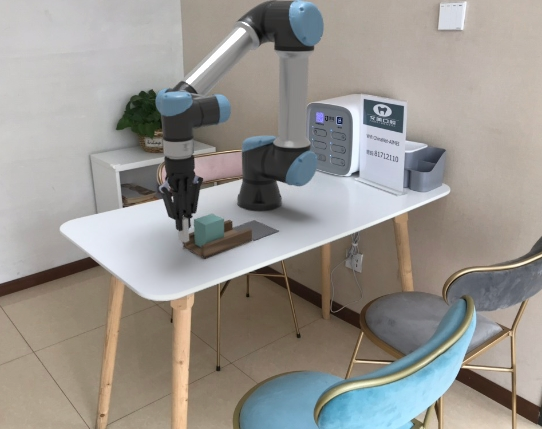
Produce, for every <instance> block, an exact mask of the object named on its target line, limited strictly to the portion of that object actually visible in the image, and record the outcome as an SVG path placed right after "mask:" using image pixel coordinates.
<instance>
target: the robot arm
mask: <svg viewBox="0 0 542 429" xmlns="http://www.w3.org/2000/svg"><path fill="white" fill-rule="evenodd" d="M324 25H325V24H324V17H323V15H322V12H321V10H320V9H319V8H318V6H317V5H316V4H315V3H313V2H312V1H311V2H310V1H306V0H305V1H304V0H267V1H264V2H262V3H259V4H257V5H256V6H254V7H252V8H251V9H249V10H248V11H247V12H245V13H244V14H243V15H242V16H240V18H239V19H238V20H237V21H235V23H234V24H233V25H232V30H231V31H230V32H229V34H227V35H226V36H225V37H224V38H223V39H222V40H221V41H220V42H219V43H218V44H217V45H216V46H215V47H214V48H213V49H212V50H211V51H210V52H209V53H208V54H207V55H206V56H205V57H204V58H203V59H202V60H200V61H199V63H197V65H195V67H193V68H192V70H190V71H189V72H188V73H187V74H186V75H185V76H184V77H183V78H182V79H181V80H180V81H179V82H178V83H177V84H176V85H175V86H174V87H173V88H170V87H169V88H168V87H167V88H164V89H163V88H162V89H161V90H159V91H158V93H157V94H156V97H155V107H156V110H157V111H158V112H159V114H160V117H161V118H160V119H161V130H162V142H163V143H162V146H163V155H164V157H163V160H164V170H165V177H164V182H163V183H162V184H159V185H157V187H156V188H157V190H158V192H160V195H161V197H162V200H163V203H164V207H165V210H166V213H167V216H168V218H169V219H170V218H171V219H172V220H174V221H175V229H176V231H178V232H177V233H178V240H179V241H181V242H182V243H183V242H188V241H189V233H190V231H189V229H190V228H191V226H192V224H191V219H192V218H194V214H196V213H197V209H198V205H199V197H200V192H201V186H202V184H203V182H204V178H203V177H201V176H199V175H196V172H195V169H196V166H195V165H196V161H195V156H194V153H195V147H194V143H195V142H194V129H195V130H196V129H200V128H206V127H211V126H217V125H218V126H219V125H220V124H222V123H226V122H227V121H229V119H230V116H231V114H232V113H231V112H232V110H231V109H232V108H231V102H230V101H229V99H228V98H227V97H226V96H225V95H224V94H210V95H208V94H209V93H210V92H211V91H212V90H213V89H214V88H215V86H216V85H218V83H220V81H222V80H223V79H224V78H225V76H227V75H228V74H229V73H230V71H232V69H234V68H235V66H237V64H238V63H240V61H242V59H243V58H244V57H246V56H247V54H248V53H249V52H250V51H256V50H258V48H259V47H260V46H262V45H264V44H267V43H273V44H274V45H273V46H274V48H273V50H274V52H275V53H276V54H277V56H278V57H279V58H278V59H279V60H278V62H279V64H278V67H279V68H278V70H279V71H278V120H277V121H278V122H277V123H278V125H277V126H278V128H277V130H278V133H277V134H278V136H276V135H258V136H257V135H255V136H250V137H247V138H245V139H244V140H243V141H242V145H241V173H242V174H241V175H242V180H241V181H242V182H241V185H240V188H239V193H238V194H237V199H236V200H237V202H236V203H237V206H238V207H240V208H241V209H243V210H245V211H246V210H248V211H253V212H266V211H273V210H275V209H277V208H280V207H281V205H282V203H283V202H282V201H283V200H282V194H281V192H280V188H279V185H278V184H279V183H278V182H281V183H283V184H287V185H288V186H295V187H303V186H305V185H307V184H308V183H309V182H310V181H311V180H312V179H313V177H314V176H315V174H316V172H317V168H318V163H319V161H318V156H317V154H316V153H315V152H314V151H313V150H311V145H312V144H311V143H312V142H311V141H310V140H309V138H308V137H307V121H308V120H307V118H308V117H307V115H308V92H309V91H308V89H309V88H308V87H309V86H308V84H309V64H310V63H309V62H310V60H309V59H310V56H311V55H312V54H313V53H314V52H315V46H316V45H318V44H319V43H320V41H321V39H322V37H323V35H324V30H325V29H324V28H325V26H324ZM170 190H171V192H170Z"/></svg>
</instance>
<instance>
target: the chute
mask: <svg viewBox="0 0 542 429" xmlns="http://www.w3.org/2000/svg"><path fill="white" fill-rule="evenodd" d="M233 225H234V224H233V220H231V219H228V220H224V237H223V238H220V239H218V240H215V241H212V242H209V243H207V244H204V245H201V247H199V246H198V245H196V244H195V237H194V231H192V232H189V241H188V242H183V241H182V247H183V248H185V249H186V250H188V251H190V252H192V253H193V254H195V255H197V256H199V257H201V258H203V259H208V258H210V257H213V256H216V255H219V254H221V253H223V252H226V251H230V250H231V249H234V248H236V247H239V246H242V245H244V244H245V245H246V244H247V243H250V242H252V241H253V240H252V230H251V229H249V228H248V229H245V230H243V231H240V232H237V231H235V230H233V227H234V226H233Z"/></svg>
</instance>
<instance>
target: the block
mask: <svg viewBox="0 0 542 429" xmlns="http://www.w3.org/2000/svg"><path fill="white" fill-rule="evenodd" d="M224 221H225V219H224V218H223V217H221V216H219V215H216V214H214V213H209V214H206V215H204V216H200V217H197V218H193V229H194V230H193V232H194V237H195V244H196V245H198V246H199V247H201V245H204V244H207V243H209V242H212V241H215V240H218V239H220V238H223V237H224Z"/></svg>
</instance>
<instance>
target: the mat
mask: <svg viewBox="0 0 542 429" xmlns="http://www.w3.org/2000/svg"><path fill="white" fill-rule="evenodd" d="M248 228H249V229H251V230H252V241H254V242H255V241H259V240H260V239H263V238H266V237H268V236H270V235H273V234H275V233H278V232H280V230H278V229H276V228H275V227H272V226H270V225H268V224H265V223H262V222H260V221H257V220H255V219H254V220H251V221H248V222H244V223H241V224H239V225H236V226H233V230H235V231H237V232H240V231H243V230H245V229H248Z"/></svg>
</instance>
